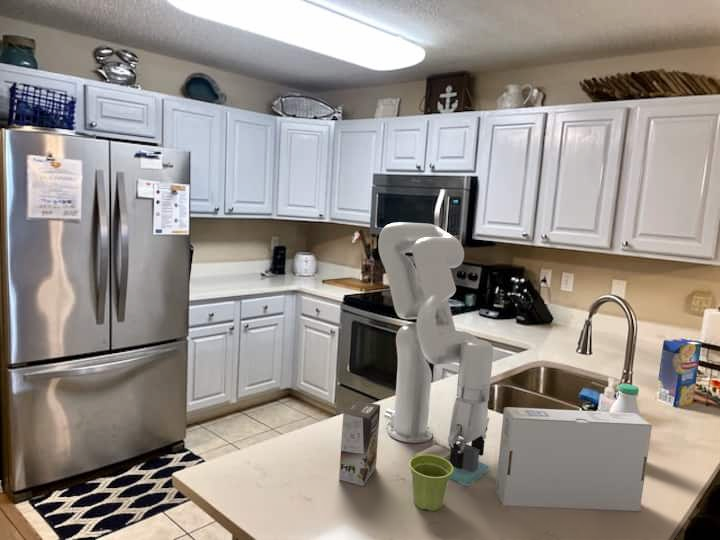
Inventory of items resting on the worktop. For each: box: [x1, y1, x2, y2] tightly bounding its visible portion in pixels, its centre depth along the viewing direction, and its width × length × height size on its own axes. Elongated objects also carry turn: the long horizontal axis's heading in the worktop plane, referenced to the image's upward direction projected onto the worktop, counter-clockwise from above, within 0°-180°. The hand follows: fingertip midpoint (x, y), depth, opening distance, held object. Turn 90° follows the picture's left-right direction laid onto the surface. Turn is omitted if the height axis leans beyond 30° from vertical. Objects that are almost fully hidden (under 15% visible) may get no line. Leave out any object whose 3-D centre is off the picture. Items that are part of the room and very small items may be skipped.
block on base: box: [449, 442, 490, 487], centre depth 122 cm, size 7×10×6 cm
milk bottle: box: [609, 383, 642, 418], centre depth 134 cm, size 8×8×20 cm
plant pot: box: [408, 455, 453, 512], centre depth 108 cm, size 9×9×9 cm
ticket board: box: [412, 442, 451, 462], centre depth 127 cm, size 8×10×2 cm
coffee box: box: [338, 400, 381, 487], centre depth 118 cm, size 9×6×16 cm
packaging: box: [495, 406, 653, 512], centre depth 112 cm, size 30×6×20 cm, turn 92°
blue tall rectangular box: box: [655, 338, 703, 408], centre depth 179 cm, size 7×11×22 cm, turn 117°
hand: (466, 460), depth 122 cm, fingers open, 9 cm apart
